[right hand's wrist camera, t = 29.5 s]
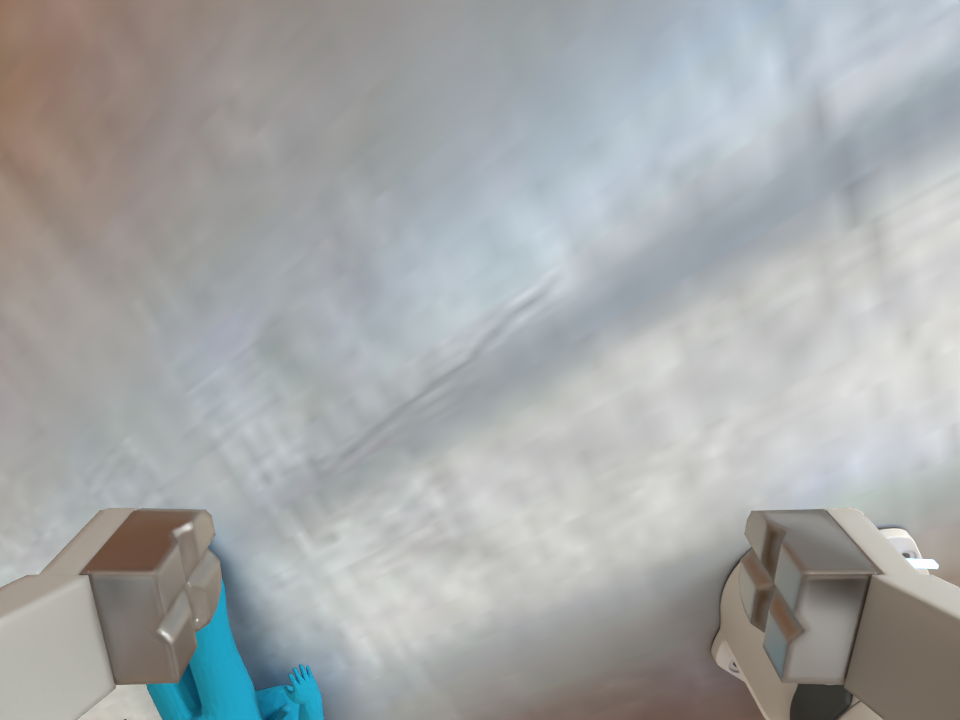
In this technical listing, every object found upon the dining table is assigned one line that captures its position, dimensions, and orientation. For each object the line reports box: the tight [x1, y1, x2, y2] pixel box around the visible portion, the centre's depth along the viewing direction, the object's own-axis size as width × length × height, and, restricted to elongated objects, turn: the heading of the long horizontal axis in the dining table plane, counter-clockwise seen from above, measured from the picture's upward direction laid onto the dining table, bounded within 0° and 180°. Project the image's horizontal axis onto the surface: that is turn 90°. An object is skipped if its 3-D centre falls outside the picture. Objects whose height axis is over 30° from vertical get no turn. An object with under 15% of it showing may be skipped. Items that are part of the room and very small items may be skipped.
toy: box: [124, 580, 324, 720], centre depth 55 cm, size 17×11×30 cm
